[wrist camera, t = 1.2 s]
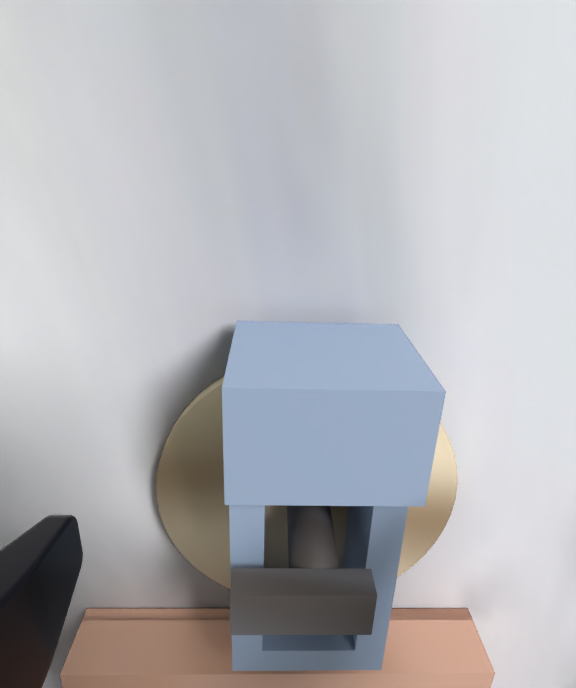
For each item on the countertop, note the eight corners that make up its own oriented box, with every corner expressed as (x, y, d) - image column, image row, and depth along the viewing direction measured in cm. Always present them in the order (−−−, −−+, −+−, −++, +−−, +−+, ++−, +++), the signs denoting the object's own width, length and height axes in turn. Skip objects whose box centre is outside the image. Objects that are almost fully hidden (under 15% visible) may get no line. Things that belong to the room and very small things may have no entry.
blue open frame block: (364, 586, 17) (388, 705, 14) (239, 586, 17) (229, 706, 13) (398, 324, 13) (445, 391, 10) (236, 320, 13) (221, 387, 10)
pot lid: (428, 590, 18) (478, 734, 14) (169, 590, 18) (134, 738, 13) (476, 356, 14) (567, 450, 10) (148, 349, 14) (88, 444, 10)
